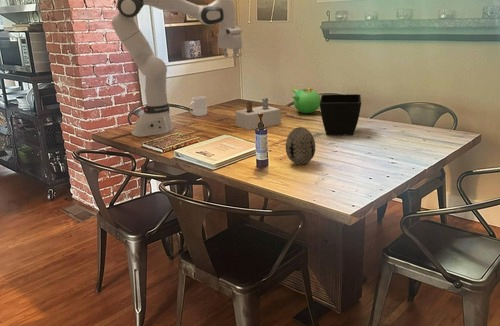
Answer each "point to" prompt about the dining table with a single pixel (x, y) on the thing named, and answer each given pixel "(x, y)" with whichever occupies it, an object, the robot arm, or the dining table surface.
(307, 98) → the green teapot
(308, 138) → the decorative egg
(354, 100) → the flower pot
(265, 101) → the metal plug
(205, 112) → the mug
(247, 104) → the walnut plug
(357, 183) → the dining table surface
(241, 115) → the socket block
